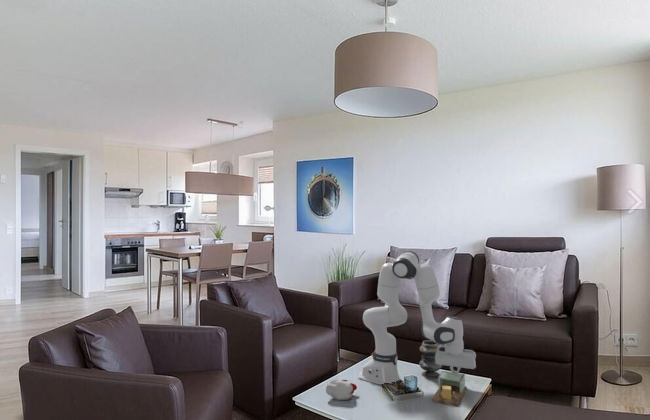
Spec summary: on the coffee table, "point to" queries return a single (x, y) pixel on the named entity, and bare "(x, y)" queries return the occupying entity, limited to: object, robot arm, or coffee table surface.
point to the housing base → (455, 396)
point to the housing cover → (452, 379)
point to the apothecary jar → (429, 359)
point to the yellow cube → (446, 392)
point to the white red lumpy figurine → (340, 389)
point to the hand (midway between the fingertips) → (455, 374)
